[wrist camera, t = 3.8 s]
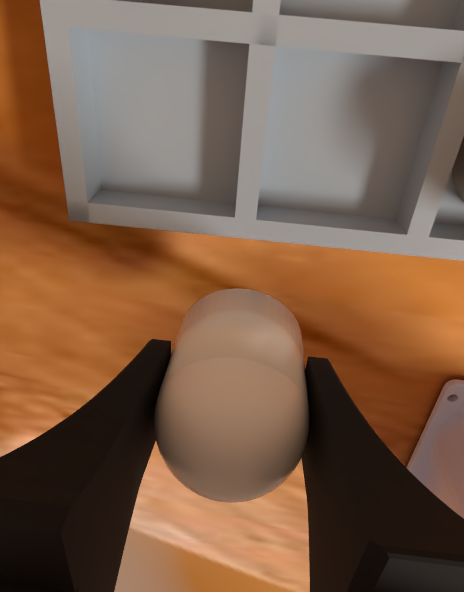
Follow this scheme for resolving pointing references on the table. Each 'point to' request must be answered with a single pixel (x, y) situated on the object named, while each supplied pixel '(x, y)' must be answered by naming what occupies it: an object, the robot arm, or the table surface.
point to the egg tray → (264, 118)
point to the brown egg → (459, 171)
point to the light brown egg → (234, 397)
